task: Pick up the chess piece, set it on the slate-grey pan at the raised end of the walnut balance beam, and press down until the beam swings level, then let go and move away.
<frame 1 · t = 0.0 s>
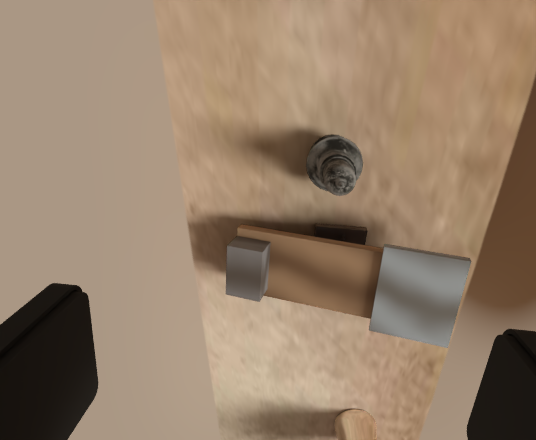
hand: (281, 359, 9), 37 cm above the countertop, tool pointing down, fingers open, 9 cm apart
chess piece: (331, 158, 44), on the countertop
beam: (338, 283, 41), point 7 cm above the countertop, hinge at 12.0°
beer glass: (354, 423, 57), on the countertop
beam stand: (336, 255, 48), on the countertop
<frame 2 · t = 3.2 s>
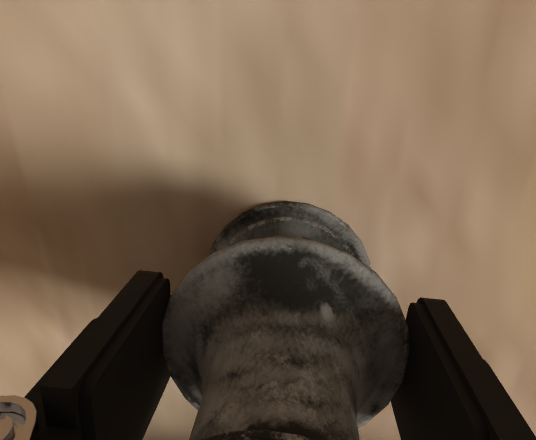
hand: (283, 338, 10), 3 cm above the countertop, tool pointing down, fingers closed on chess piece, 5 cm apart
chess piece: (287, 276, 13), on the countertop, touching gripper
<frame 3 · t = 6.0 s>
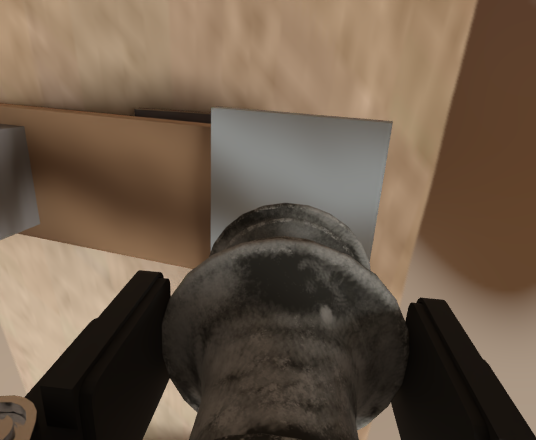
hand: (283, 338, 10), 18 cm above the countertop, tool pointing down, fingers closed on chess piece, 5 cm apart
chess piece: (287, 277, 13), point 15 cm above the countertop, touching gripper
beam: (140, 200, 20), point 7 cm above the countertop, hinge at 12.0°
beam stand: (186, 170, 27), on the countertop
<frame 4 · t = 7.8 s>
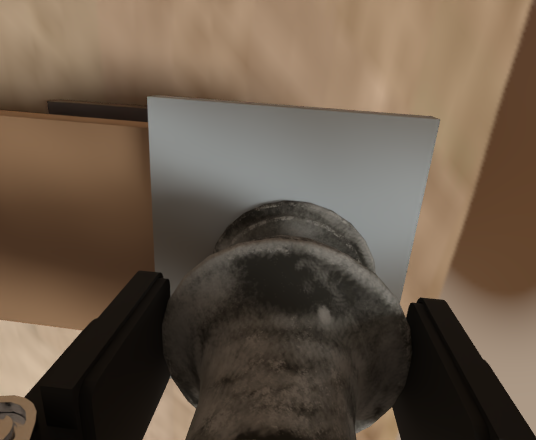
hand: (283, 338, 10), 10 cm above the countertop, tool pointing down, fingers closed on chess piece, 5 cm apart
chess piece: (291, 276, 13), point 7 cm above the countertop, touching beam, gripper
beam: (36, 244, 13), point 7 cm above the countertop, hinge at 1.6°, touching chess piece
beam stand: (127, 186, 19), on the countertop
when the fingers open (10 cm above the countertop, at t = 8.7 s): chess piece stays where it is, resting on beam.
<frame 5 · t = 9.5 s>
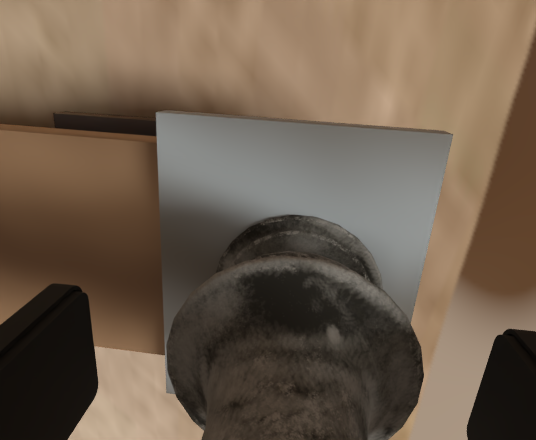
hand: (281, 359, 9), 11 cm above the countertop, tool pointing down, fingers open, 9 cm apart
chess piece: (296, 290, 12), point 7 cm above the countertop, touching beam
beam: (43, 260, 13), point 7 cm above the countertop, hinge at 1.6°, touching chess piece
beam stand: (133, 198, 19), on the countertop
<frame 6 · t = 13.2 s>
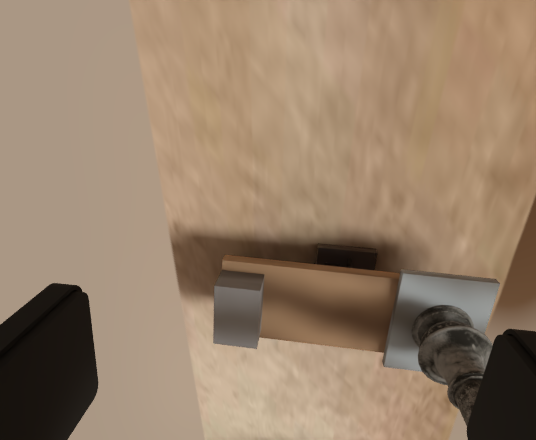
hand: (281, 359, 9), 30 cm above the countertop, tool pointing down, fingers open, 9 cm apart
chess piece: (441, 329, 35), point 7 cm above the countertop, touching beam
beam: (348, 317, 35), point 7 cm above the countertop, hinge at 1.6°, touching chess piece
beam stand: (341, 279, 42), on the countertop
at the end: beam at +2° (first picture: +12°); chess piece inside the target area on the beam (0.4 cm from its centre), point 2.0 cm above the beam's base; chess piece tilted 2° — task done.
